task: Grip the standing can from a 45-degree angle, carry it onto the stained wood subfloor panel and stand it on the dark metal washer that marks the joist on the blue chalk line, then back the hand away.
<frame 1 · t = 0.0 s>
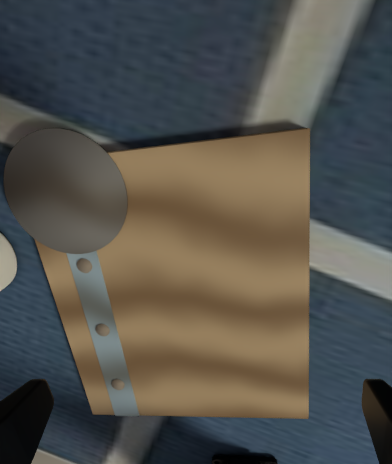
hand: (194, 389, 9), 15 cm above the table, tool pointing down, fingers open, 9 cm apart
subfloor panel: (178, 297, 25), on the table
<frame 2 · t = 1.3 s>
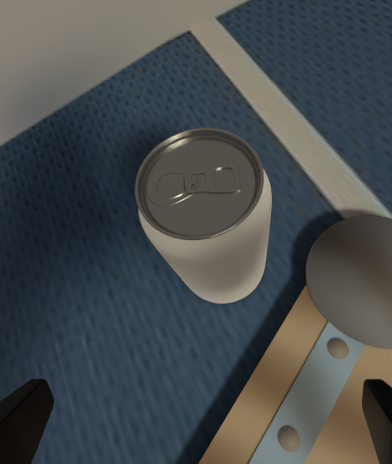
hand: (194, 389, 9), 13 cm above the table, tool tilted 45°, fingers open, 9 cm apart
can: (222, 263, 24), on the table
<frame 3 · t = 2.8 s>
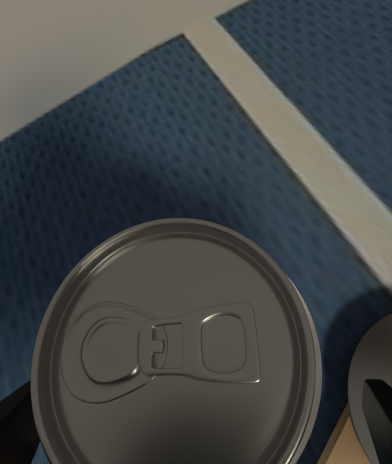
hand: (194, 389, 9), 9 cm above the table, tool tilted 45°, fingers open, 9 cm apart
can: (222, 362, 17), on the table
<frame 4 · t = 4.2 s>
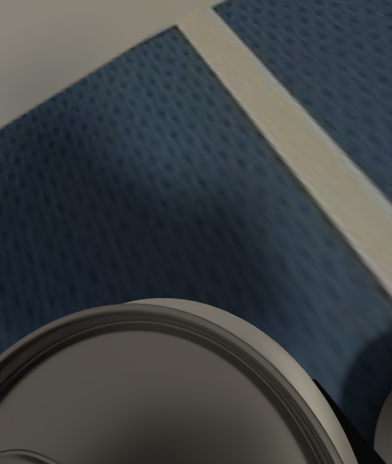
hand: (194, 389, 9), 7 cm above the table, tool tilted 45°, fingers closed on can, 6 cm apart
can: (219, 414, 14), on the table, touching gripper
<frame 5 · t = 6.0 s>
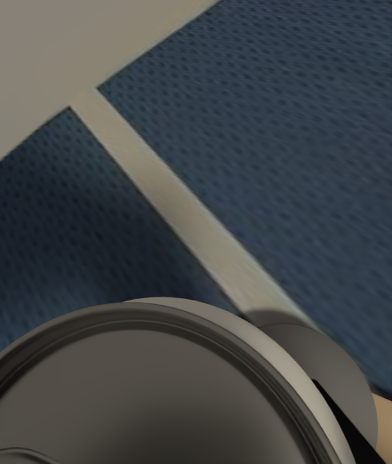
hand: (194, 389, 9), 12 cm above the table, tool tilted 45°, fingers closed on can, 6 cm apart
can: (218, 413, 14), point 5 cm above the table, touching gripper
when the fingers open (9 cm above the table, at t = 7.9 s): can stays where it is, resting on subfloor panel.
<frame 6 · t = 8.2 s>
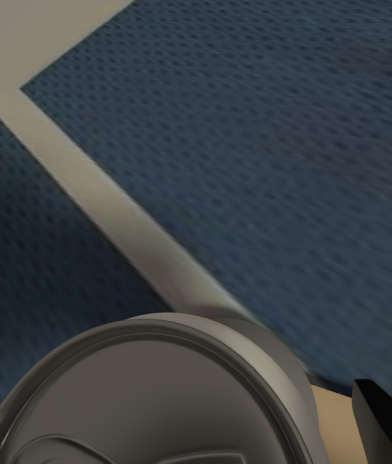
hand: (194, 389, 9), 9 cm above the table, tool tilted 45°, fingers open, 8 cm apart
can: (221, 417, 15), point 1 cm above the table, touching subfloor panel
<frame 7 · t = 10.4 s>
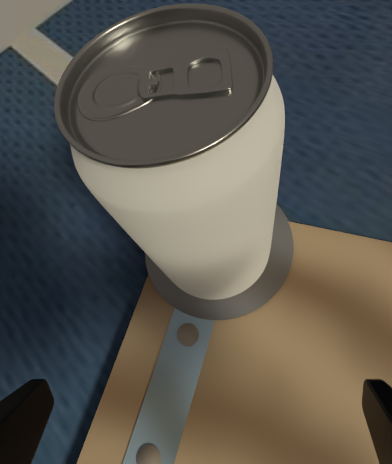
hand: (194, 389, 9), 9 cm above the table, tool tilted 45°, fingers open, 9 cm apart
subfloor panel: (291, 461, 15), on the table
can: (215, 249, 19), point 1 cm above the table, touching subfloor panel
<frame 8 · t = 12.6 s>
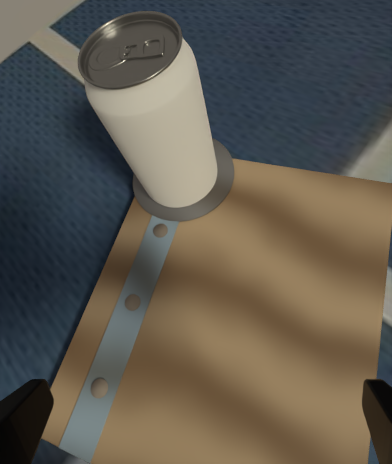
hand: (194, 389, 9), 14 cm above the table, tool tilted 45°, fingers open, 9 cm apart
subfloor panel: (225, 304, 23), on the table
can: (181, 178, 27), point 1 cm above the table, touching subfloor panel
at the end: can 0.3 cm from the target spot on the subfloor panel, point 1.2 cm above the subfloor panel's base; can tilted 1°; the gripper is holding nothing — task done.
